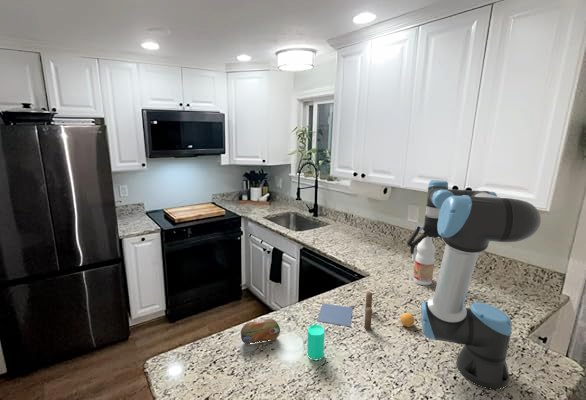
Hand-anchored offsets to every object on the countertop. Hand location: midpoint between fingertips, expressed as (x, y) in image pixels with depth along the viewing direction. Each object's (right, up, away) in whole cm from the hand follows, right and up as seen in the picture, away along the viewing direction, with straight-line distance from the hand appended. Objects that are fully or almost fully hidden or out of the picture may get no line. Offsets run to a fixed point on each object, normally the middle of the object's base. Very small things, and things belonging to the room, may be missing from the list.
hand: (429, 262), depth 135 cm
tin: (-73, -27, -17) cm, 80 cm away
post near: (-30, -25, -10) cm, 40 cm away
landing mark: (-42, -23, 0) cm, 48 cm away
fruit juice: (+10, -17, +30) cm, 36 cm away
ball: (-13, -22, -8) cm, 27 cm away
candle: (-53, -29, -25) cm, 65 cm away
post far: (-27, -23, +2) cm, 35 cm away
